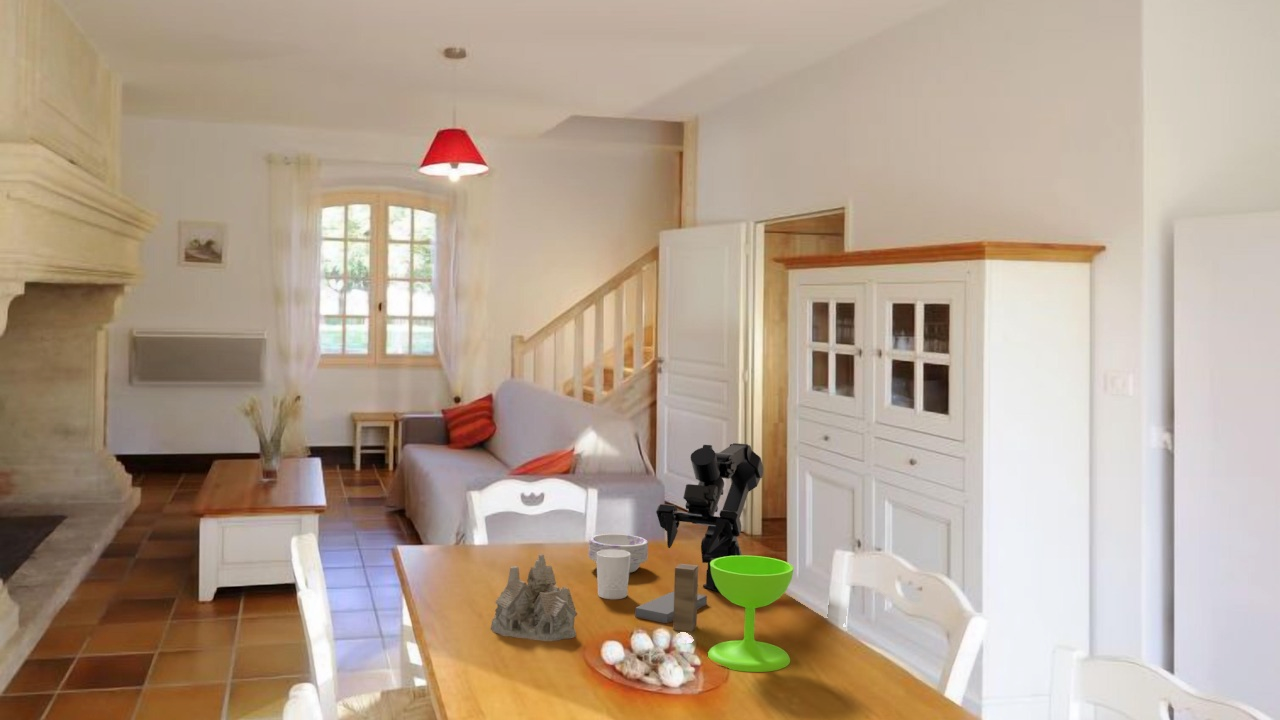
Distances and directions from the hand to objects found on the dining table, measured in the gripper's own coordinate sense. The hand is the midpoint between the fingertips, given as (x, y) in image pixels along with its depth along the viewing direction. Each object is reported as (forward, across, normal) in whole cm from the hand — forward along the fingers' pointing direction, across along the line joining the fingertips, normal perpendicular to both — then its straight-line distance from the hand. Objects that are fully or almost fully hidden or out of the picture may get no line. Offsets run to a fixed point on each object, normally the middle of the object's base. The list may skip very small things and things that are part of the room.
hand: (688, 549), depth 223 cm
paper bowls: (-14, -29, +31) cm, 45 cm away
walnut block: (+16, +3, +6) cm, 17 cm away
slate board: (+8, -4, +13) cm, 16 cm away
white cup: (+4, -21, +16) cm, 26 cm away
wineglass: (+25, +20, -1) cm, 32 cm away
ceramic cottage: (+28, -25, -4) cm, 38 cm away
